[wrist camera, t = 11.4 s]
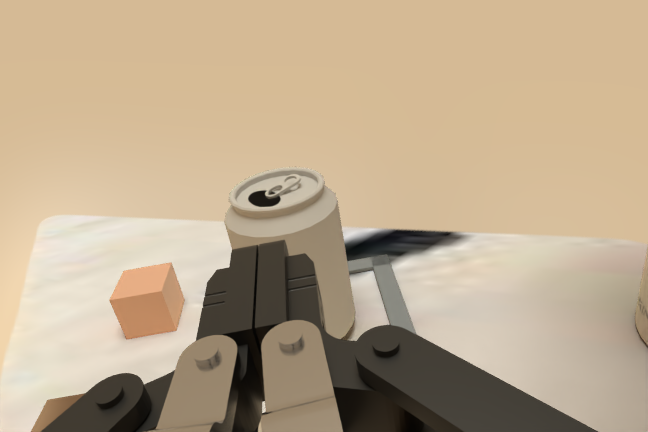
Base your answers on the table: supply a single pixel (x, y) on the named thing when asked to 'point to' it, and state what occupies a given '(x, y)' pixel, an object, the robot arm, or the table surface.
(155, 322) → the clay block
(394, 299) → the frame
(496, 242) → the table surface
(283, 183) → the can
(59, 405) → the walnut block
